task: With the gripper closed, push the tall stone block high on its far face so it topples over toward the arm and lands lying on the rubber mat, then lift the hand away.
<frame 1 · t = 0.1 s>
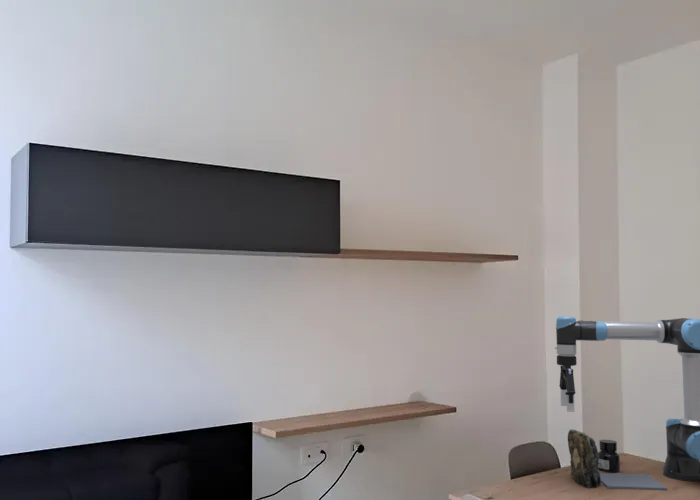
hand: (567, 408, 254), 28 cm above the table, tool pointing down, fingers open, 13 cm apart
stone block: (582, 482, 252), on the table
rubber mat: (628, 482, 251), on the table
ink bottle: (608, 470, 269), on the table
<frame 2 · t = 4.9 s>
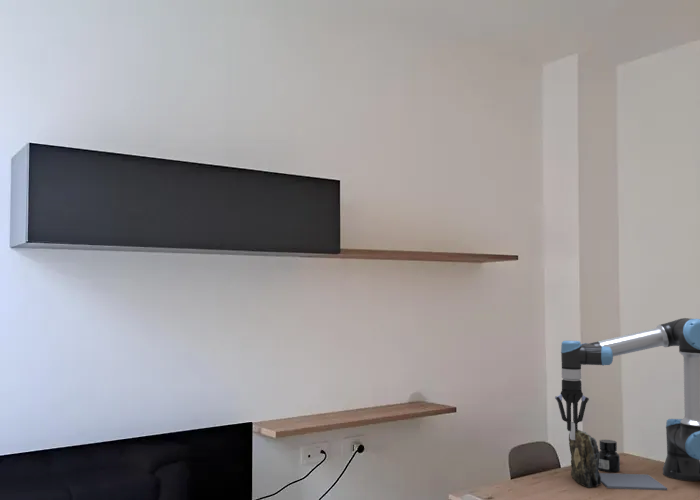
hand: (572, 439, 253), 16 cm above the table, tool pointing down, fingers closed
stone block: (582, 481, 252), on the table, touching gripper
everything else where it was.
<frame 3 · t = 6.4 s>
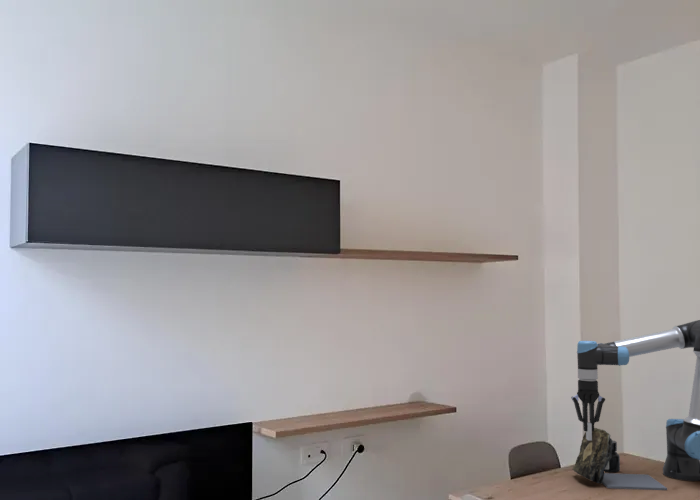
hand: (589, 439, 253), 16 cm above the table, tool pointing down, fingers closed
stone block: (583, 477, 252), point 2 cm above the table, touching gripper
everything else where it was.
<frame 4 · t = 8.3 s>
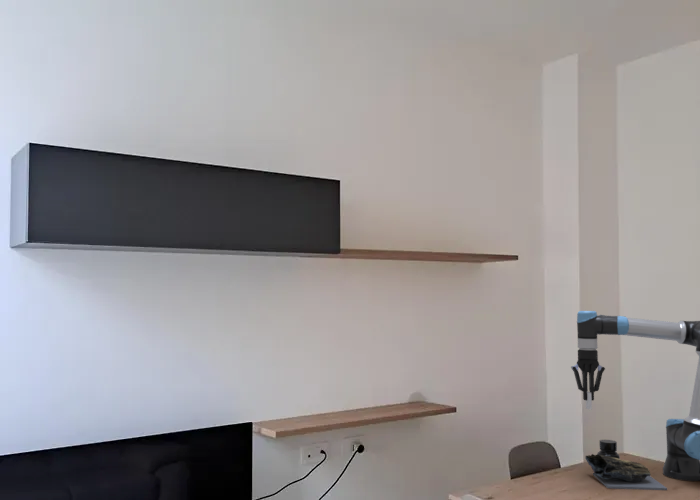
hand: (588, 408, 254), 28 cm above the table, tool pointing down, fingers closed
stone block: (594, 462, 253), point 7 cm above the table, touching rubber mat
everything else where it was.
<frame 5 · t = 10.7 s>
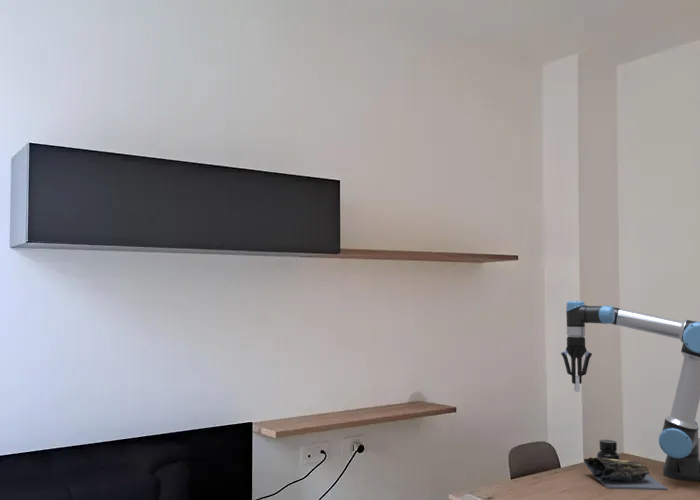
hand: (576, 391, 275), 32 cm above the table, tool pointing down, fingers closed
stone block: (593, 465, 253), point 6 cm above the table, touching rubber mat
everything else where it was.
at the end: stone block tilted 96°; stone block touching rubber mat; stone block inside the target area (1.5 cm from its centre), point 5.9 cm above the table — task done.
